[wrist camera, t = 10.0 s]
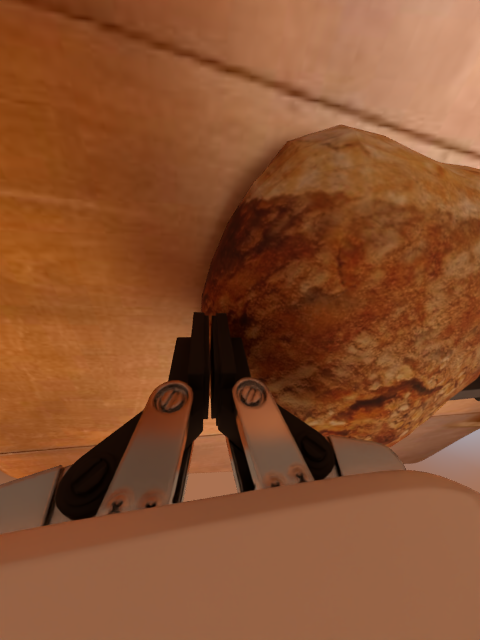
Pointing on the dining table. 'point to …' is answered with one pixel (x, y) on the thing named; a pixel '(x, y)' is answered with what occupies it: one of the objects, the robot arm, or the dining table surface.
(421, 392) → the bread
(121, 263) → the dining table surface
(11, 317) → the dining table surface
